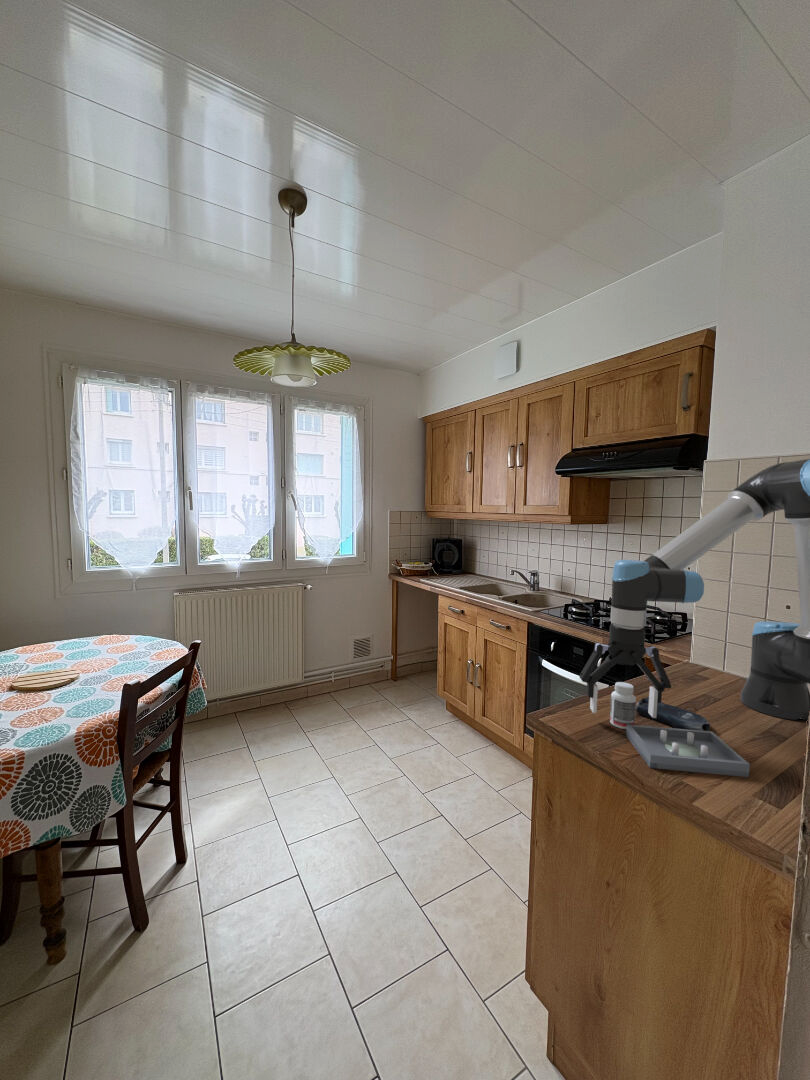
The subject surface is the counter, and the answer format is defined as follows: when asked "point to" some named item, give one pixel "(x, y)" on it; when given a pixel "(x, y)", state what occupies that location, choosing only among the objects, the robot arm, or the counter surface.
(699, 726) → the electronic device
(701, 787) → the counter surface
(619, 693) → the pill bottle
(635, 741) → the tray
